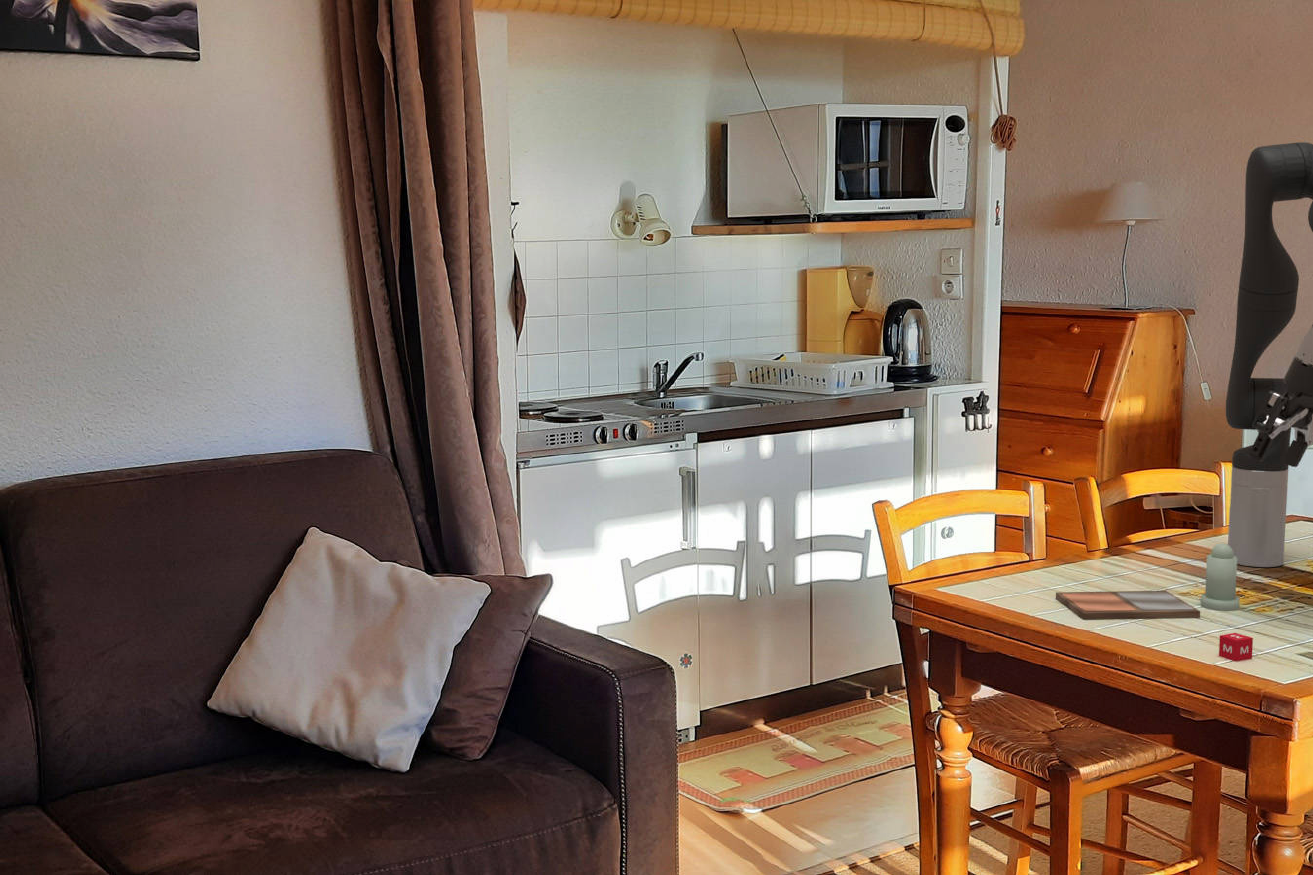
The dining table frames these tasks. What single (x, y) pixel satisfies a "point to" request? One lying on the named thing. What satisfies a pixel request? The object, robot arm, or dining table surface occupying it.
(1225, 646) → the dice
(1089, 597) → the brown flat rectangular board
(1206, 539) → the dining table surface
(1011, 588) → the dining table surface
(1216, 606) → the pawn
